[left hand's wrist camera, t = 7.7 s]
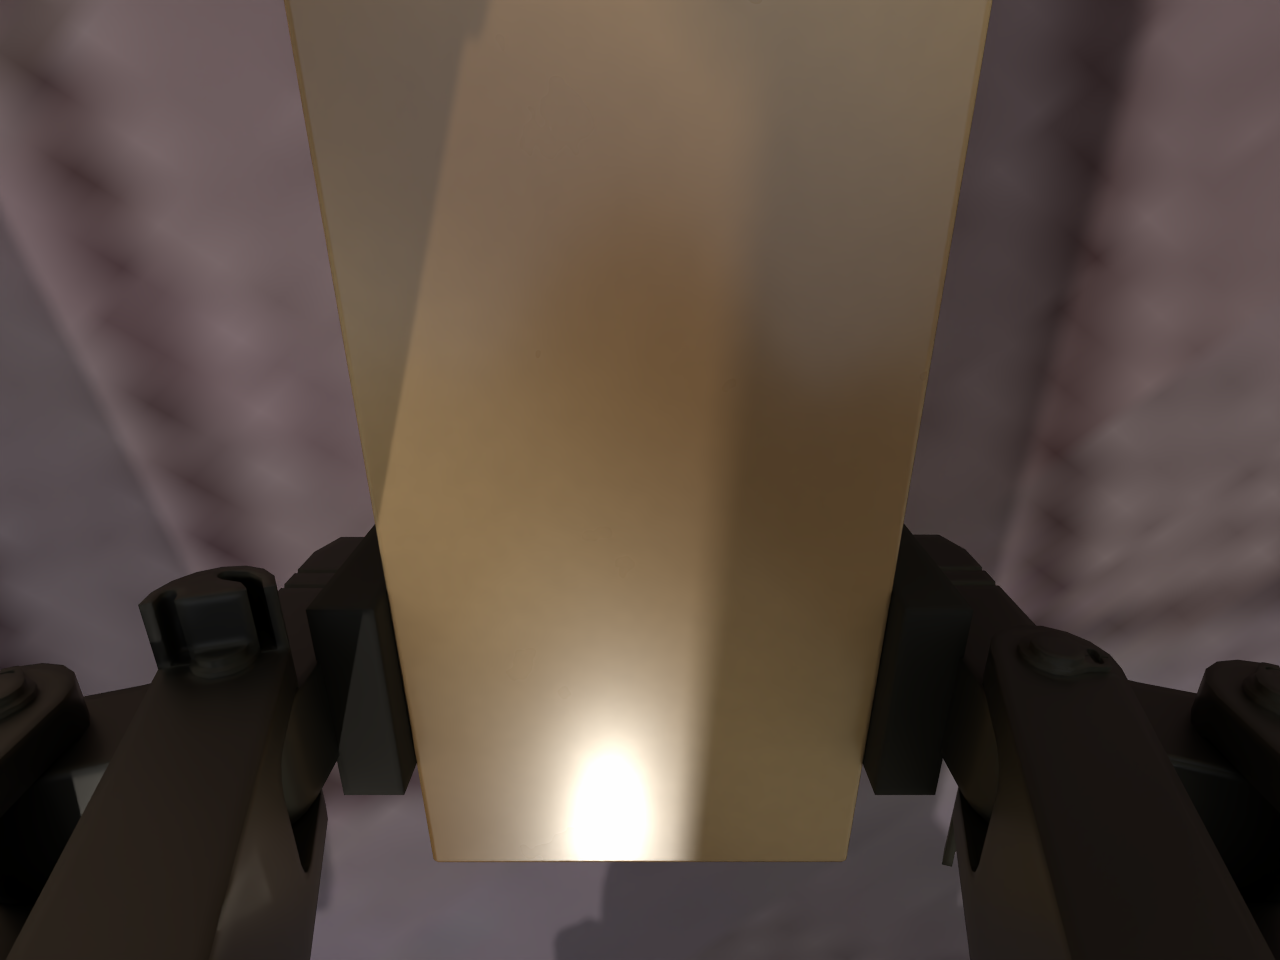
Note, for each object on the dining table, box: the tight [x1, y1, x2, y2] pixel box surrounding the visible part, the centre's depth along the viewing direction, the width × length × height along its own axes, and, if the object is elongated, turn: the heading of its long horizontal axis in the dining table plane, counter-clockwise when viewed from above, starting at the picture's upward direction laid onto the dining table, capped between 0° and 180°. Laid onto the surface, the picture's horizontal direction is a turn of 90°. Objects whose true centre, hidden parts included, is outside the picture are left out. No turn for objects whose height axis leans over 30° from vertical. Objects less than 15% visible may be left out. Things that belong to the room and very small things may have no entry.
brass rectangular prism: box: [284, 0, 992, 862], centre depth 10 cm, size 19×6×9 cm, turn 0°
